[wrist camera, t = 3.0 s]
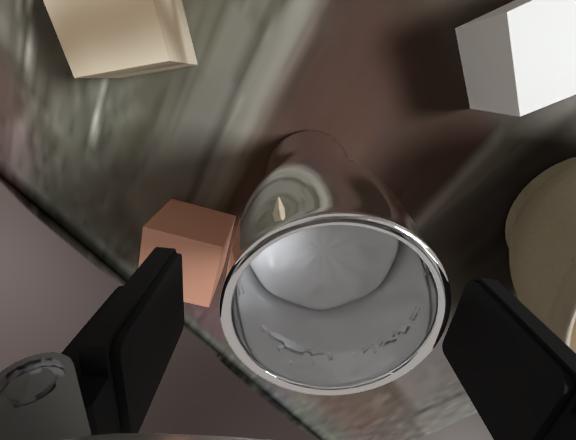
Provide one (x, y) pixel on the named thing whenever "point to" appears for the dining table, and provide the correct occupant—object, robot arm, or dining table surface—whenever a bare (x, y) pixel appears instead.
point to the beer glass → (330, 276)
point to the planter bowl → (546, 248)
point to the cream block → (520, 56)
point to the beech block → (122, 36)
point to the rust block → (191, 244)
